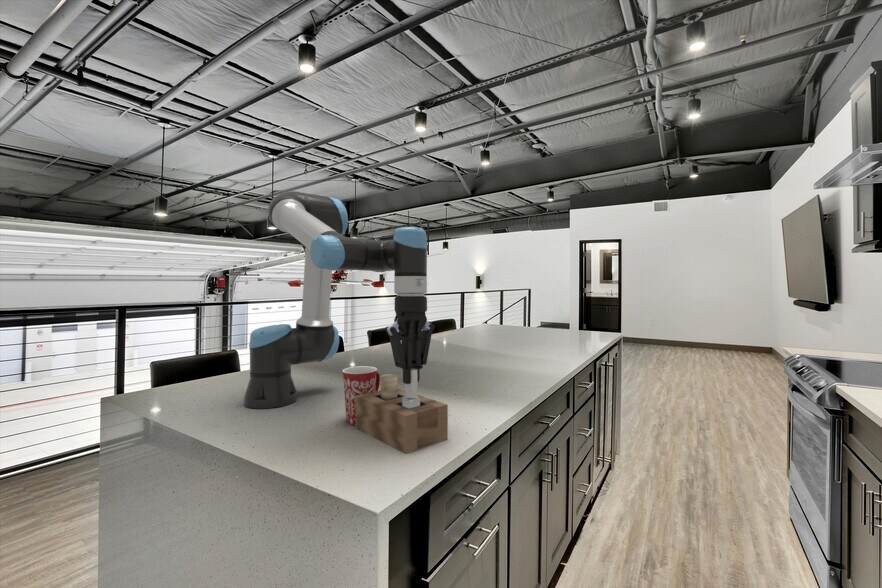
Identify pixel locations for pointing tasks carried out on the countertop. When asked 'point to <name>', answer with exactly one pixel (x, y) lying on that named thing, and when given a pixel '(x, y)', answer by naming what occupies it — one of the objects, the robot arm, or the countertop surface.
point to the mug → (358, 387)
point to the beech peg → (389, 386)
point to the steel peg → (410, 402)
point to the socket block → (402, 421)
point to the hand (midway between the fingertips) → (411, 396)
